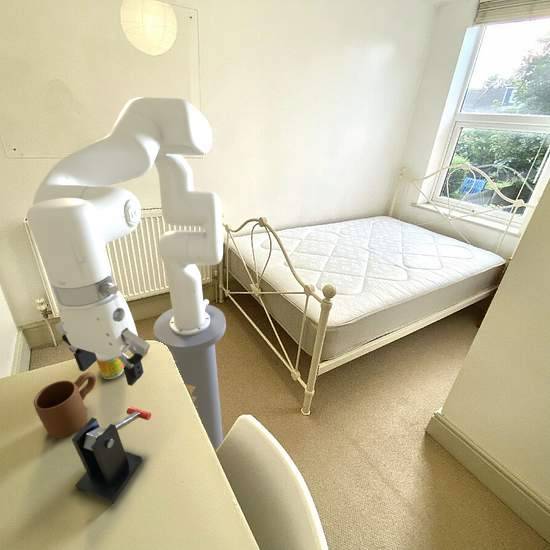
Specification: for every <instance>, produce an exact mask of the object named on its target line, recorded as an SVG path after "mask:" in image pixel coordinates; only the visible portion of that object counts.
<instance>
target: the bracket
mask: <svg viewBox="0 0 550 550" xmlns="http://www.w3.org/2000/svg"><path fill="white" fill-rule="evenodd" d="M113 424H114V423H110V424H109V425H108V426H107V427H106V428H107V429H106V428H105V429H106V430H105V431H104V432H103V433H102V435H101V436H100V437H99V438H98V439H97V440H96V442H95V443H94V444H93V445H92V446H91V448H92V450H93V451H92V450H89V449H86V448H84V443H85V438H86V434H87V433H89V432H91V431H92V430H94V429H96V428H98V427H101V426H100V424H99V422H98V418H96V417H95V418H94V417H91V418H90V419H89V420H88V421H86V422H85V424H84V425H83V427H82V428H81V429H80V430H78V431H77V432H76V433H75V435H74V436H73V437H72V438H71V442H72V444H73V447H74V448H75V451H76V453H77V455H78V457H79V459H80V461H81V463H82V465H83V467H84V469H85V471H86V472H85V473H84V474H83V475H82V477H81V478H80V479H79V480H78V482H77V483H76V484H75V489H76V490H78V491H80V492H84V493H86V494H88V495H90V496H93V497H94V498H97V499H100V500H102V501H105V502H107V503H109V504H112V505H113V504H115V502H116V501H117V499H118V498H119V496H120V495H121V494H122V492H123V491H124V489H125V488H126V486H127V484H128V483H129V481H130V480H131V478H132V477H133V475H134V474H135V473H136V471H137V470H138V468H139V467H140V465H141V464H142V462H143V457H142V456H140V455H137V454H134V453H131V452H129V451H125V449H124V448H125V447H124V445H123V443H122V440H121V437H120V434H119V430H118V431H117V428H116V426H115V425H113Z"/></svg>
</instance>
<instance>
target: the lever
mask: <svg viewBox="0 0 550 550" xmlns="http://www.w3.org/2000/svg"><path fill="white" fill-rule="evenodd" d="M126 414H127V415H126V416H125V417H123V418H122V419H120V420H118V421H117V422H116V421H115V423H112V424H113V425H115V426H116V428H117V431H118V432H119V431H120V430H121V429H122V428H124V427H126V426H128V425H129V424H131V423H133V422H134V421H136V420H137V419H142V420H145V421H150V419H151V417H152V413H151V412H149V411H145V410H143V409H139V408H136V407H133V406H128V408H127V409H126ZM107 428H108V427H106V428H104V427H101V426H100V427H98V428H96V429H94V430H92V431H91V432H89V433H87V434H86V438H85V443H84V448H86V449H89V450H92V448H91V446H92V445H93V444H94V443H95V442H96V440H97V439H98V438H99V437H100V436H101V435H102V433H103V432H104V431H105V430H106V429H107ZM92 451H93V450H92Z"/></svg>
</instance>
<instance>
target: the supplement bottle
mask: <svg viewBox="0 0 550 550" xmlns="http://www.w3.org/2000/svg"><path fill="white" fill-rule="evenodd" d="M95 354H96V357H97V361H96V363H97V366H98V368H99V371H100V374H101V377H102V378H103V379H105V380H112V379H115V378H118V377H119V376H121V375H122V374H123V373H124V367H125V365H124V364H123V363H122V362H121V361H120V360H119V358H118V357H108V356H104V355H101V354H97V353H95Z"/></svg>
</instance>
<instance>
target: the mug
mask: <svg viewBox="0 0 550 550" xmlns="http://www.w3.org/2000/svg"><path fill="white" fill-rule="evenodd" d="M86 381H87V383H86V384H85V382H86ZM96 382H97V376H96V374H95V373H94V372H91V371H87V372H84V373H82V374H81V375H79V376H78V378H77V379H76V380H75V381H74V382H73V381H71V380H58V381H55V382H52V383H50V384H48V385H46V386H45V387H43V388H42V389H41V390H40V391H39V392H38V393H37V394H36V395H35V397H34V400H33V407H34V409H35V412H36V414H37V416H38V418H39V419H40V422H41V423H42V425H43V427H44V429H45V430H46V432H47V434H48V435H49V436H50V437H51V438H54V439H64V438H68V437H70V436H73V435H74V434H77V433H78V432H79V431H80V430H81V429H82V428H83V427H84V426H85V425H86V423H87V420H88V411H87V408H86V405H85V403H84V401H85V398H86V397H87V395H88V394H89V393H91V391H92V390H93V389H94V387H95V385H96ZM84 384H85V385H84ZM83 385H84V386H83ZM82 386H83V387H82ZM81 387H82V388H81ZM80 388H81V389H80Z"/></svg>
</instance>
